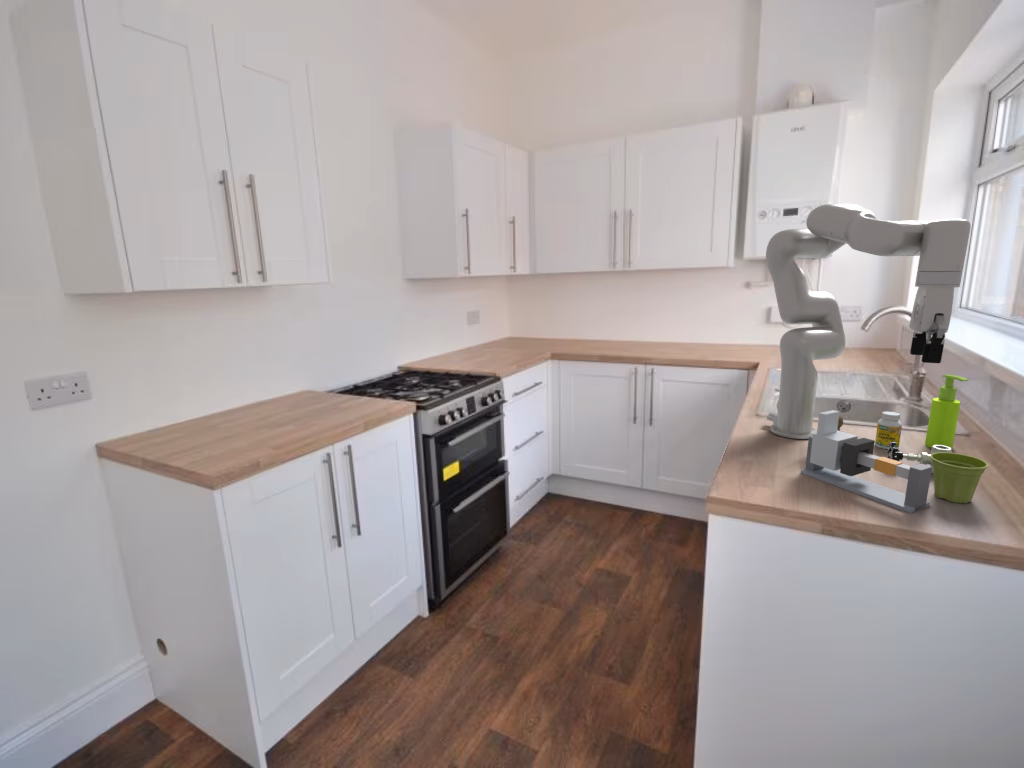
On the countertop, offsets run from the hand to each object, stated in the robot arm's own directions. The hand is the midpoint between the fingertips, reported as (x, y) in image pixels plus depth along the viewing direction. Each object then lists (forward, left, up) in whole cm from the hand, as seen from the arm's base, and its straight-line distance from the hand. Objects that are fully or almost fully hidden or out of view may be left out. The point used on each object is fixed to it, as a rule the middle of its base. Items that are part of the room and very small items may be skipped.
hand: (924, 358), depth 114 cm
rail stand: (-2, -14, -29) cm, 32 cm away
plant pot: (+10, -2, -29) cm, 31 cm away
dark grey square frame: (-4, -14, -25) cm, 29 cm away
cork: (-19, 0, -29) cm, 35 cm away
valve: (-2, +9, -29) cm, 30 cm away
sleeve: (-9, -14, -25) cm, 30 cm away
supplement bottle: (-15, +19, -29) cm, 38 cm away
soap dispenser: (-8, +31, -29) cm, 44 cm away
